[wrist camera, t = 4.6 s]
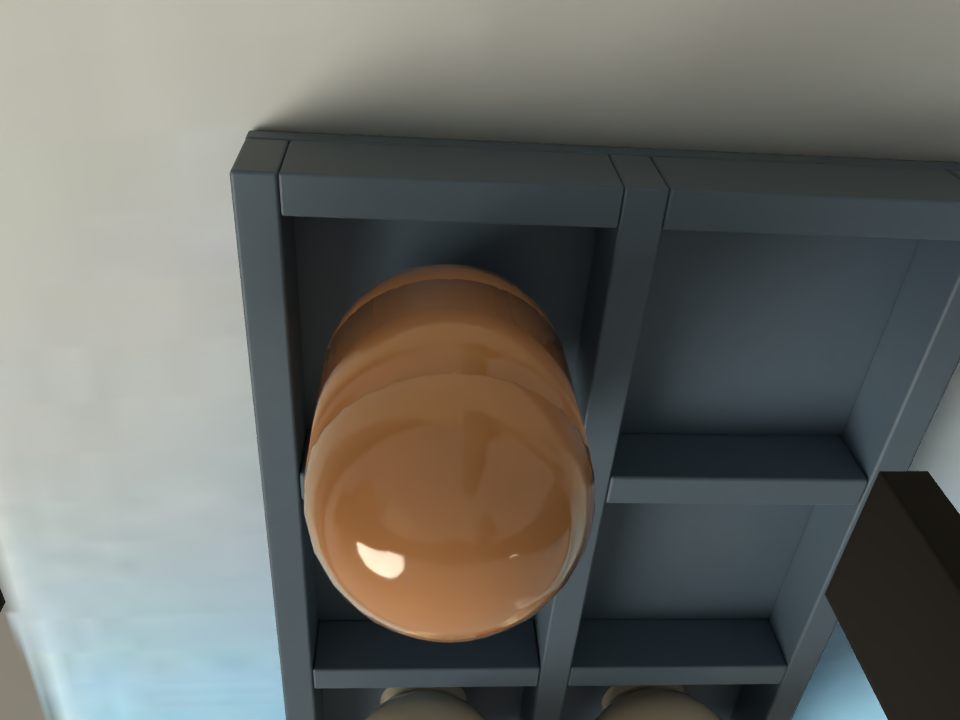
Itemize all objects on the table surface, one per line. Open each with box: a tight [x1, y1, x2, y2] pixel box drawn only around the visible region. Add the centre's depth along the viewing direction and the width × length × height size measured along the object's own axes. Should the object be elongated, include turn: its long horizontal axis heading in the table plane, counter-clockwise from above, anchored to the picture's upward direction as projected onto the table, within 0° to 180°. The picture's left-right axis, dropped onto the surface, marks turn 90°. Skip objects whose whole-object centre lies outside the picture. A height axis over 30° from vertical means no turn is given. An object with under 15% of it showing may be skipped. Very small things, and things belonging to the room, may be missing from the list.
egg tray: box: [230, 131, 960, 720], centre depth 21 cm, size 14×21×2 cm
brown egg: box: [304, 263, 596, 643], centre depth 15 cm, size 5×5×8 cm
